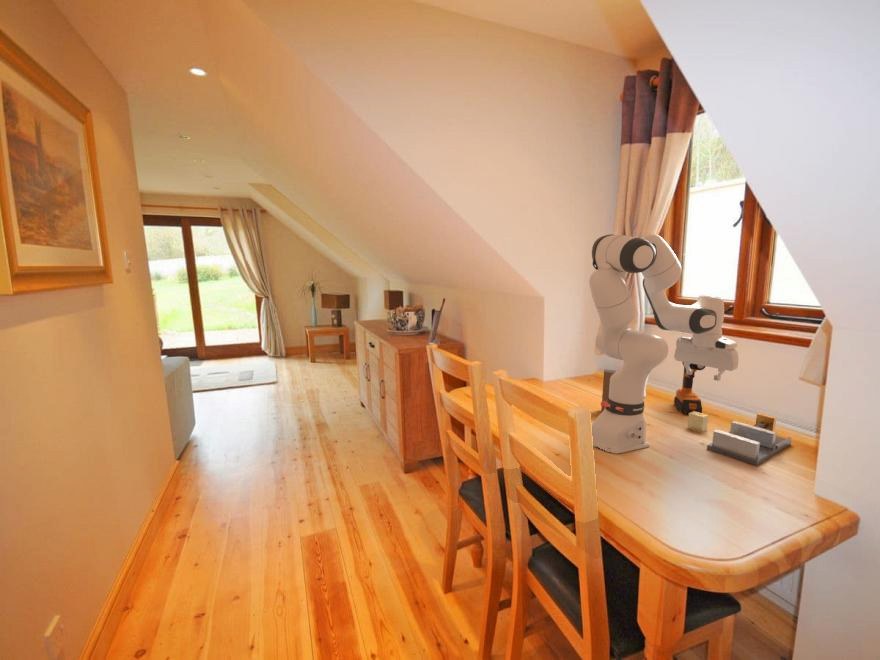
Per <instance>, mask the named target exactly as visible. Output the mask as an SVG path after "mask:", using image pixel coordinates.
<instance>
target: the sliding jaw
mask: <svg viewBox="0 0 880 660" xmlns="http://www.w3.org/2000/svg"><path fill="white" fill-rule="evenodd" d="M776 423H777V417H776V416H773V415H770V414H766V413H762V412H758V413H757V414H756V420H755V424H754V425H751V424H748V423H744V422H740V421H737V420H733V421H731V422H730V428H729V429H730V430H729V431H730V434H734V435H737V436H740V437H744V438H747V439H750V440H753V441H757V442H760V445H761V446H764V447H768V448H771V449H772V448H773V447H774V446H775V439H776V436H777V432H776Z"/></svg>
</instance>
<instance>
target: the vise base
mask: <svg viewBox="0 0 880 660" xmlns="http://www.w3.org/2000/svg"><path fill="white" fill-rule="evenodd" d="M712 432H713V434H712V442H710V443H708V444H707V446H706V450H708V451H711V452H715V453H717V454H720V455H723V456H726V457H729V458H731V459H734V460H737V461H740V462H742V463H746V464H748V465H751V466H754V467H758V466H760V465H761V464H763V463H764V462H765V461H767V460H769V459H770V458H772V457H773V456H775V455H776V454H778V453H779V452H781V451H782V450H784V449H786V448H787V447H788V446H790V445H791V443H792V437H791V436H789V437H788V436H787V438H785V437H781V436H777V435H776V439H775V446H774V447H773V448H772V449H771V448H768V447H764V446H761V445H760V442H757V441H753V440H750V439H747V438H744V437H740V436H737V435H734V434H730V430H729V431H728V432H727V431H722V430H720V429H715V430H714V431H712Z"/></svg>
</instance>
